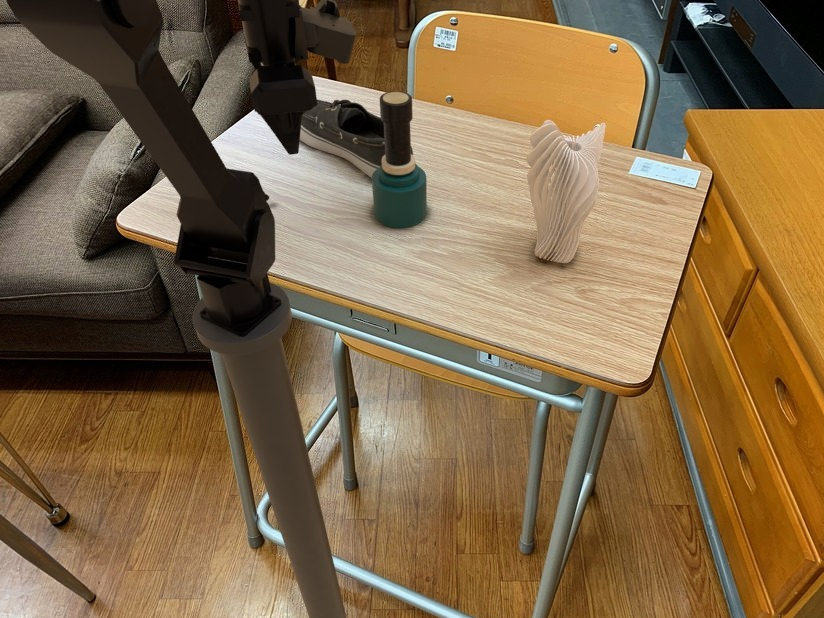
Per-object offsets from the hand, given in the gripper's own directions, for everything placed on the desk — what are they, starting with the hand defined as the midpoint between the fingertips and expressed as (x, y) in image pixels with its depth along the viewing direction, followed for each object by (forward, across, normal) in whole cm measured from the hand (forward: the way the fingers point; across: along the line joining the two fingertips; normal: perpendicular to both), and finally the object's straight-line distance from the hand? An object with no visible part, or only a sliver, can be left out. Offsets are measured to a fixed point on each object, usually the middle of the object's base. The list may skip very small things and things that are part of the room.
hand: (289, 133), depth 77 cm
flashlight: (+5, 0, -13) cm, 14 cm away
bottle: (+13, 0, -13) cm, 18 cm away
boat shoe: (+13, +18, -9) cm, 24 cm away
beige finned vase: (+13, -13, -30) cm, 35 cm away
